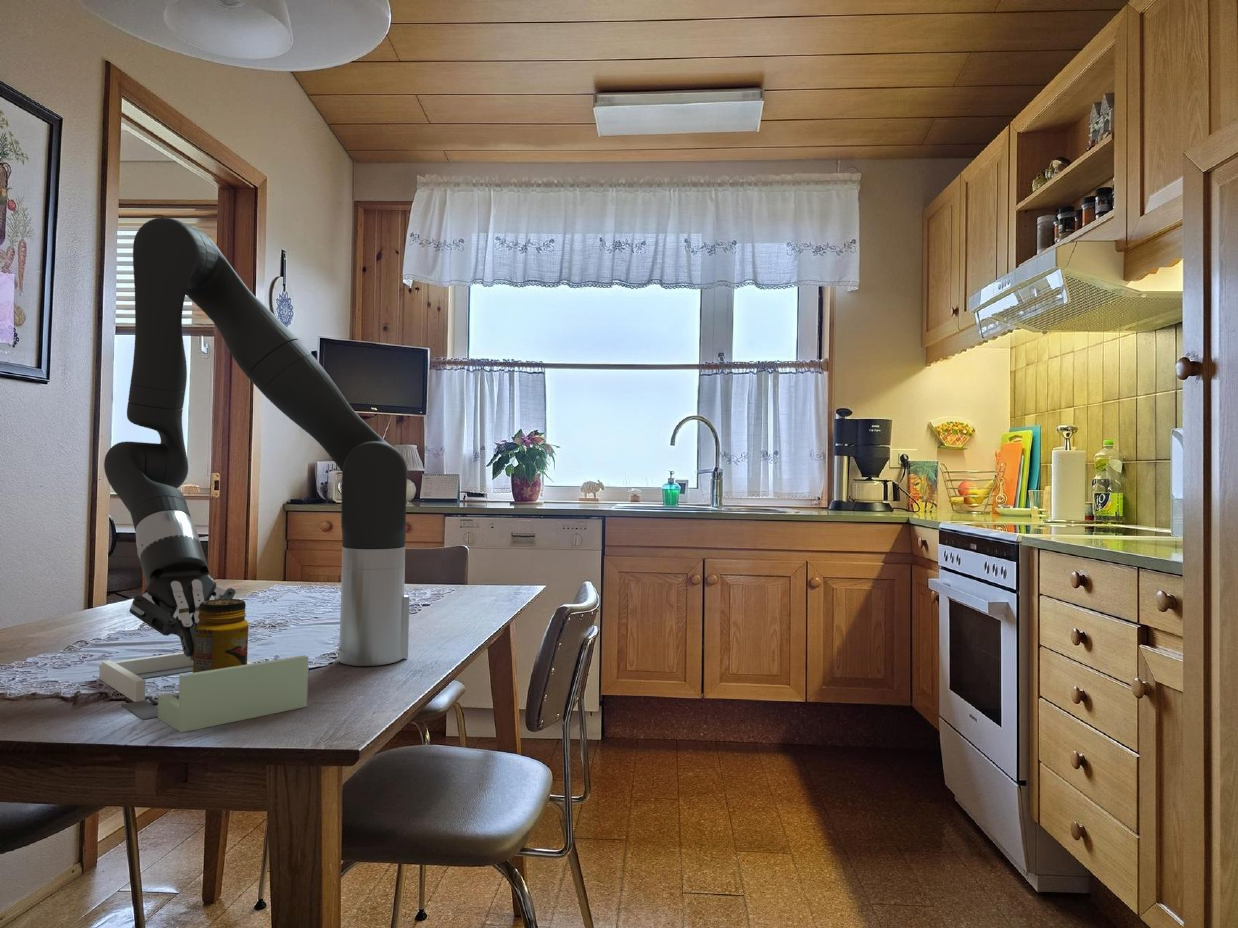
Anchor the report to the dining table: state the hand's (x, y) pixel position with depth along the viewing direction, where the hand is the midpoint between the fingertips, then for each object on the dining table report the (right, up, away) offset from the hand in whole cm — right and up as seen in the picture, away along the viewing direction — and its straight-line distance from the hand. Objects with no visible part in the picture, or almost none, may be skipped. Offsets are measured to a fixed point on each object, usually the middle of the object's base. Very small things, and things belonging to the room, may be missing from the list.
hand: (199, 655), depth 99 cm
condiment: (+3, -5, -2) cm, 6 cm away
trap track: (-1, -5, +1) cm, 5 cm away
